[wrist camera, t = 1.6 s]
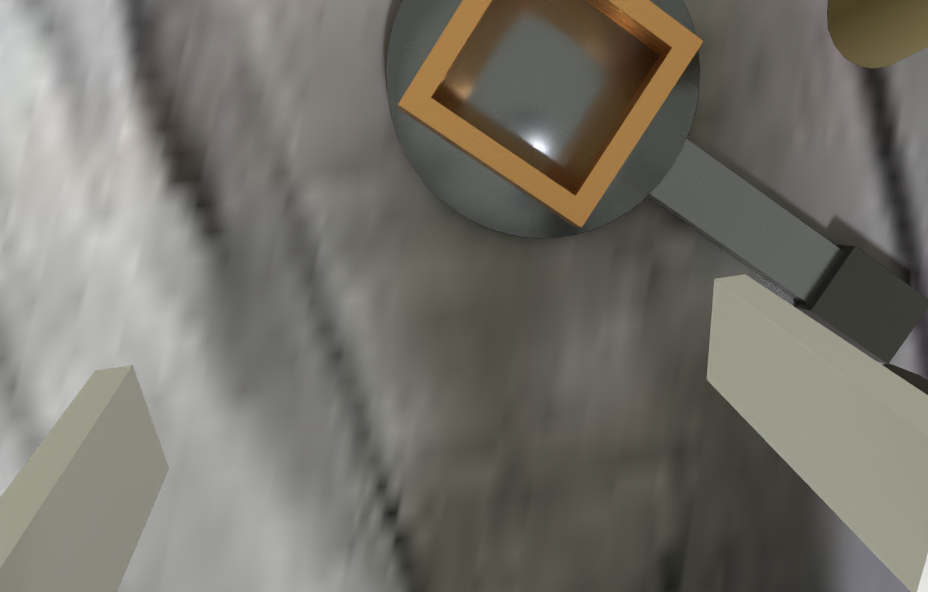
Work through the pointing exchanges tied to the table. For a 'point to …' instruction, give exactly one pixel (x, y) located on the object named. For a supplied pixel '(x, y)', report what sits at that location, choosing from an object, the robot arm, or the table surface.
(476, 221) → the round pan with handle
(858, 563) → the table surface
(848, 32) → the cork
